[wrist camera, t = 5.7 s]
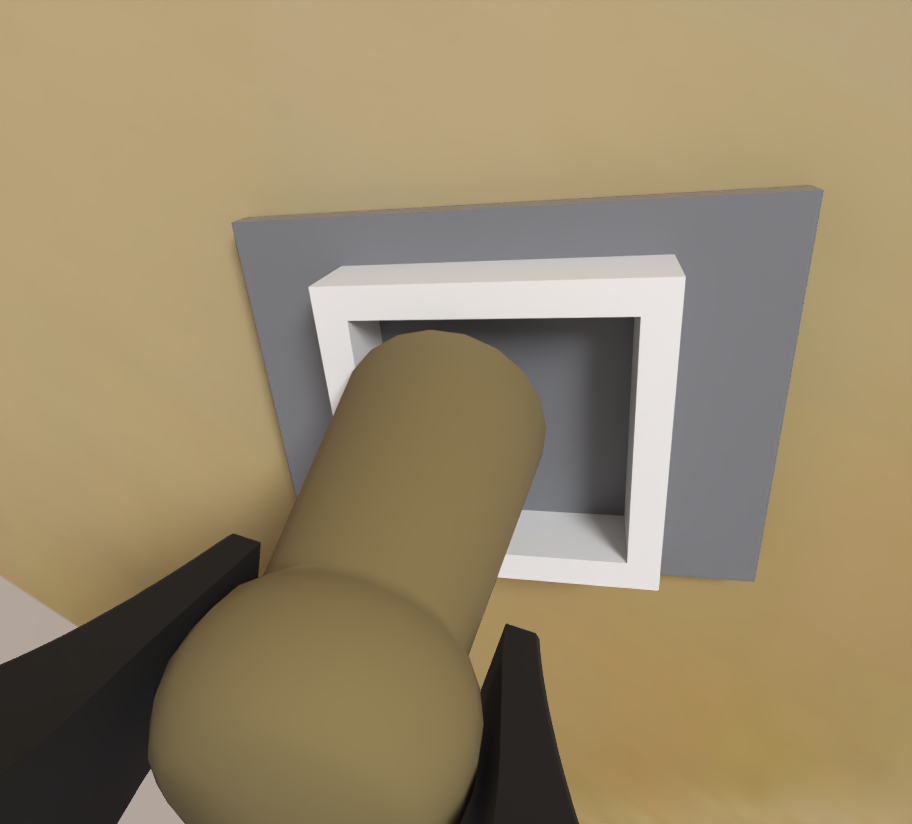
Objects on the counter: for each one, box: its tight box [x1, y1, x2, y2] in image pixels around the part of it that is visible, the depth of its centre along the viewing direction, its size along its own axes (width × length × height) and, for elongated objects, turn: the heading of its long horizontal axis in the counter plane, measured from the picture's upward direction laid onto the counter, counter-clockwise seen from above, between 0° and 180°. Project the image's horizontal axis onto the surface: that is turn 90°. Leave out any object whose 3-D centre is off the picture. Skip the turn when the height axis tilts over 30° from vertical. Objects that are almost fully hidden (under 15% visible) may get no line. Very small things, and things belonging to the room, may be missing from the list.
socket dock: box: [232, 185, 823, 591], centre depth 20 cm, size 13×17×4 cm
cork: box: [148, 330, 547, 824], centre depth 13 cm, size 6×6×11 cm
